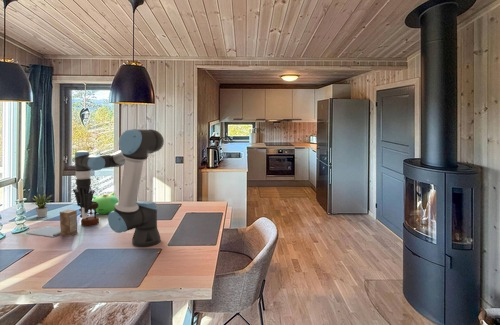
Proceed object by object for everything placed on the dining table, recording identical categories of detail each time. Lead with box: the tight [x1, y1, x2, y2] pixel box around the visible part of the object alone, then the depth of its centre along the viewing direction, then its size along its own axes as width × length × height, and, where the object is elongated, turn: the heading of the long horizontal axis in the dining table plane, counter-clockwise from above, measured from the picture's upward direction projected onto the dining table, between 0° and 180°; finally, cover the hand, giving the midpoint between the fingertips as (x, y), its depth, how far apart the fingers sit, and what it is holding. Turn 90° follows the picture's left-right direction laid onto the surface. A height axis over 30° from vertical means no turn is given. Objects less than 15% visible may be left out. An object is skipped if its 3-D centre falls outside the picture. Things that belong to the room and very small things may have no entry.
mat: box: [26, 225, 62, 238], centre depth 186 cm, size 20×14×1 cm
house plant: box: [31, 193, 53, 218], centre depth 213 cm, size 14×14×16 cm
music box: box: [78, 201, 104, 227], centre depth 201 cm, size 15×11×20 cm
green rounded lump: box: [92, 191, 119, 215], centre depth 225 cm, size 18×17×15 cm
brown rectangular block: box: [59, 209, 78, 237], centre depth 181 cm, size 6×6×14 cm
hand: (84, 218), depth 178 cm, fingers closed
